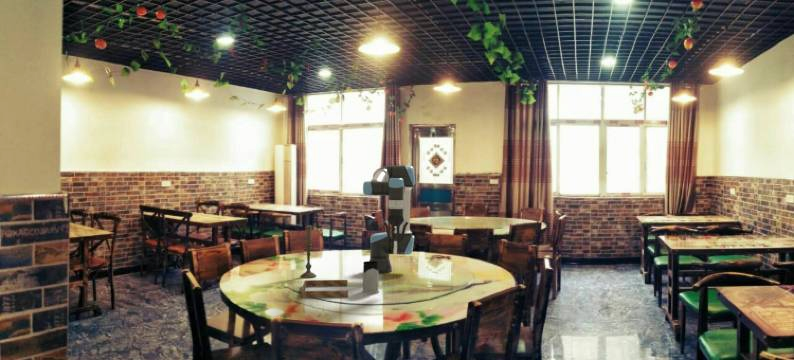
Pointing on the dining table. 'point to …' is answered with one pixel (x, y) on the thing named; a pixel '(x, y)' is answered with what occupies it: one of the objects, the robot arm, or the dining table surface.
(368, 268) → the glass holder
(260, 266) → the dining table surface
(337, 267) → the dining table surface
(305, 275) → the candlestick holder
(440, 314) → the dining table surface
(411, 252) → the robot arm
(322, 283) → the corral
